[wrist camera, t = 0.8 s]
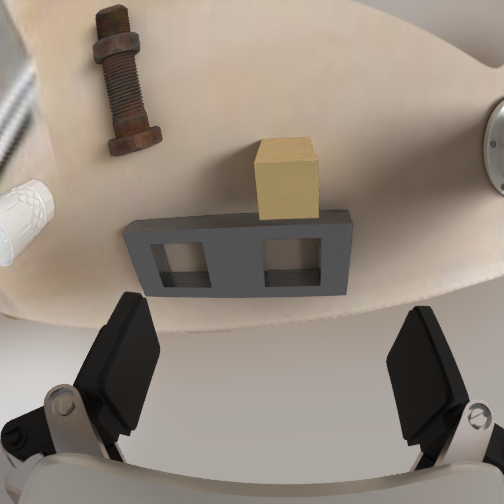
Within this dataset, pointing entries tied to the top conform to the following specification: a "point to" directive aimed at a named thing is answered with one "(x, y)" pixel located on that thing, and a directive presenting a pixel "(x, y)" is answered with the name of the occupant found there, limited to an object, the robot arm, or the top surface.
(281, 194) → the gold block
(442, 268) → the top surface
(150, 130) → the bolt
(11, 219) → the white cup
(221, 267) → the grey peg board
